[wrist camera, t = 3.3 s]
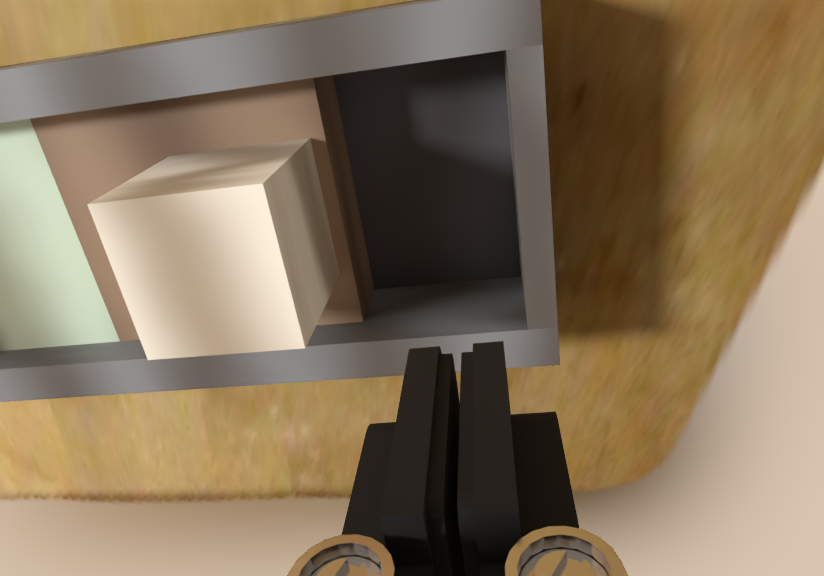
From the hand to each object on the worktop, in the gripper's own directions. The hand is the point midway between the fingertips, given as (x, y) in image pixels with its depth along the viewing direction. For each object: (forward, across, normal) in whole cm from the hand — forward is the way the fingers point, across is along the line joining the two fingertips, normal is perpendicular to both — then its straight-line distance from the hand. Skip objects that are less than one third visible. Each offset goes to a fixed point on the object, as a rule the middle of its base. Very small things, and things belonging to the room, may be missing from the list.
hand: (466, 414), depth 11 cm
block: (+11, +7, -1) cm, 13 cm away
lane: (+14, +10, -1) cm, 18 cm away
